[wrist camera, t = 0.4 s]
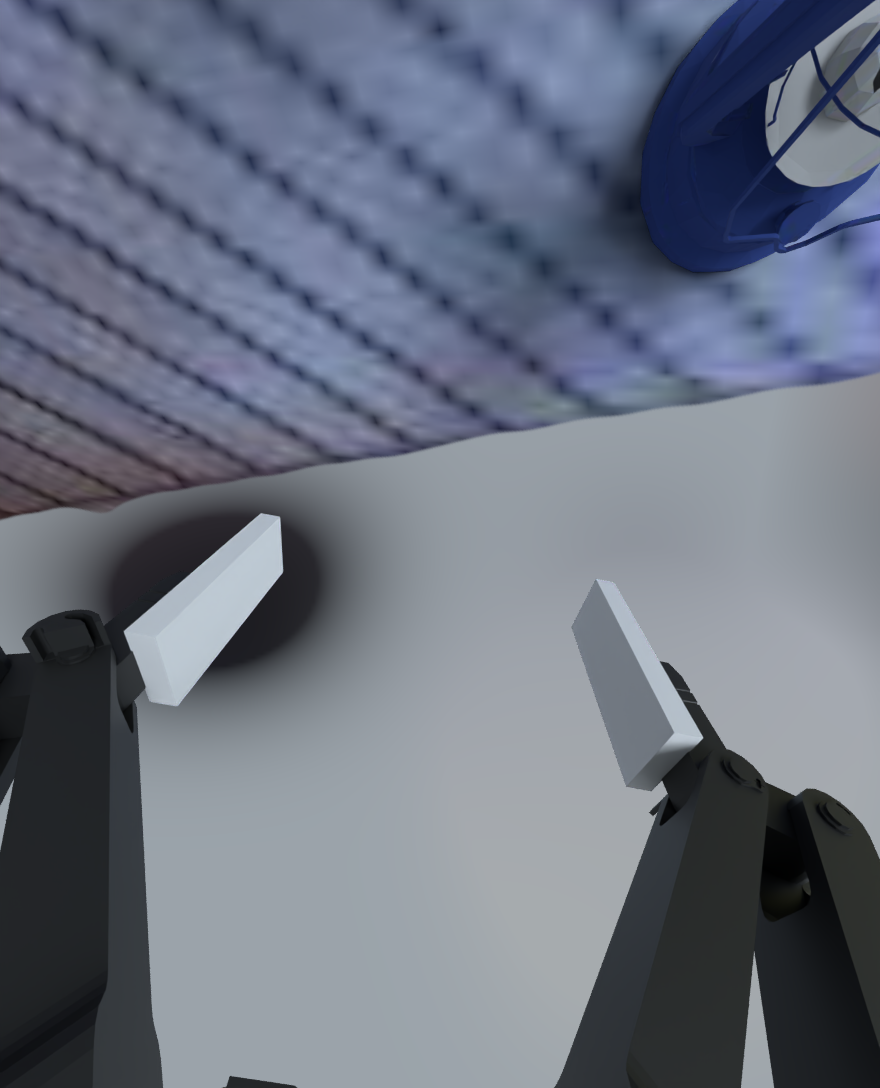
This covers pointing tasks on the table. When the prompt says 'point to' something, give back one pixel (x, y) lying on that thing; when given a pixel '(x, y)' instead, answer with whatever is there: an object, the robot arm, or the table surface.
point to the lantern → (764, 131)
